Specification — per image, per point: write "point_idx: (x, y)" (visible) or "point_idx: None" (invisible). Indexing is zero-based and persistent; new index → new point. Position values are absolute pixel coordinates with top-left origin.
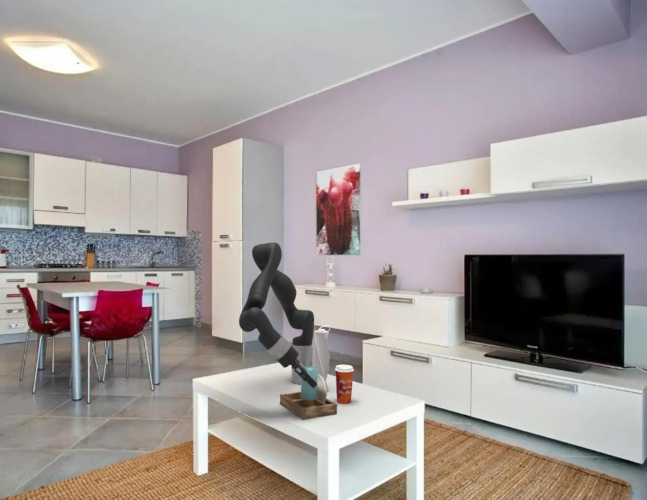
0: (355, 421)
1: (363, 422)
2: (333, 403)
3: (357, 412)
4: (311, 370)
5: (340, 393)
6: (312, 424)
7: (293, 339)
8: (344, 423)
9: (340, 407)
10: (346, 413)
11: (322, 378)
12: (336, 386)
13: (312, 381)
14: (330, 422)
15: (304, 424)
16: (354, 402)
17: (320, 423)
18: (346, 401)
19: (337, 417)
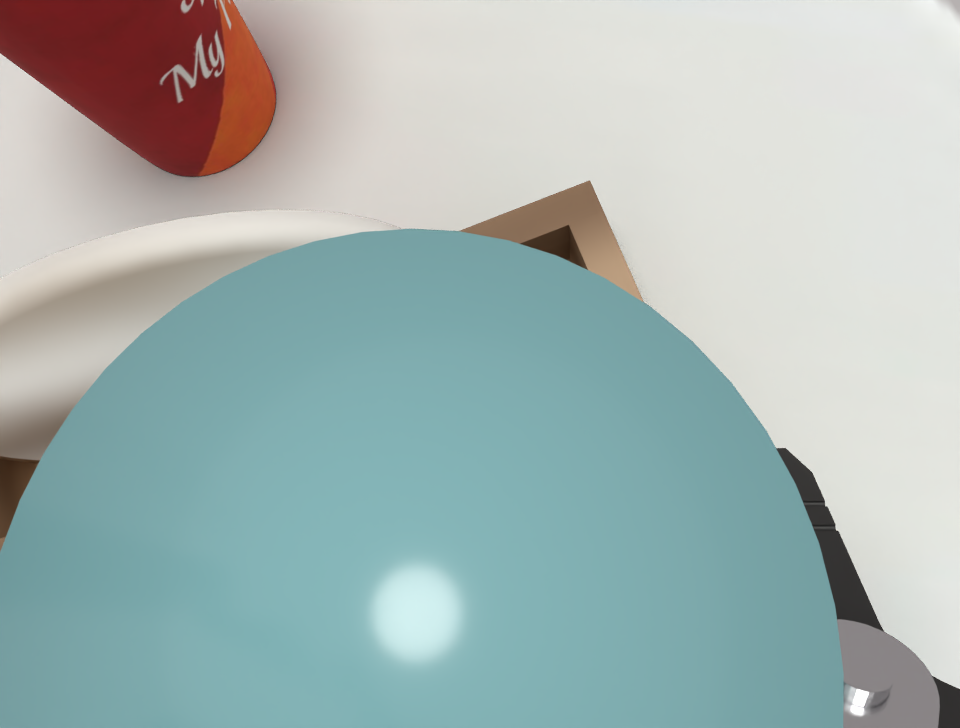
0: (846, 77)
1: (879, 6)
2: (555, 221)
3: (562, 22)
4: (826, 606)
5: (203, 83)
6: (953, 574)
7: None
8: (912, 196)
9: (380, 167)
10: (583, 132)
11: (221, 225)
12: (86, 80)
13: (842, 555)
14: (878, 344)
15: (956, 681)
16: (248, 10)
17: (915, 467)
18: (268, 76)
19: (708, 243)
